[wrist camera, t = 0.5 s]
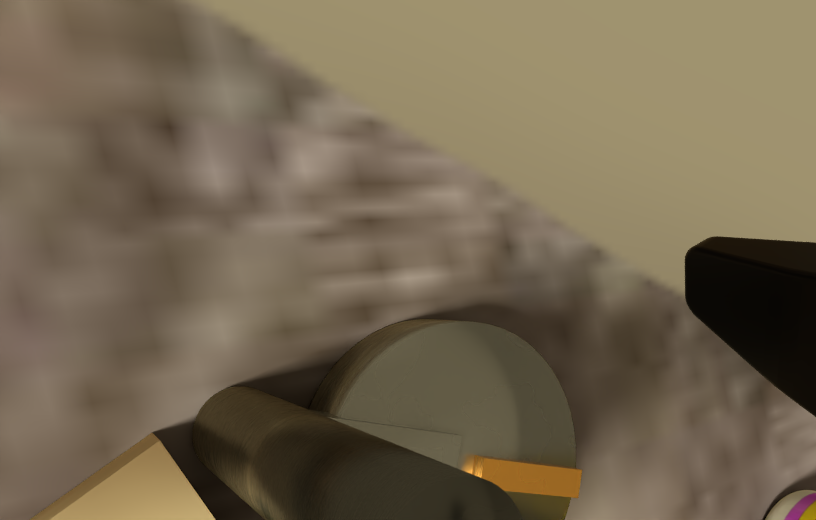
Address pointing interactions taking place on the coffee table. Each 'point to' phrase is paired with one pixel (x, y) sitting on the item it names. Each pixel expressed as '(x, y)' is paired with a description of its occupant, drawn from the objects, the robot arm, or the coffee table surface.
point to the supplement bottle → (795, 507)
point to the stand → (132, 490)
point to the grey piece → (404, 433)
